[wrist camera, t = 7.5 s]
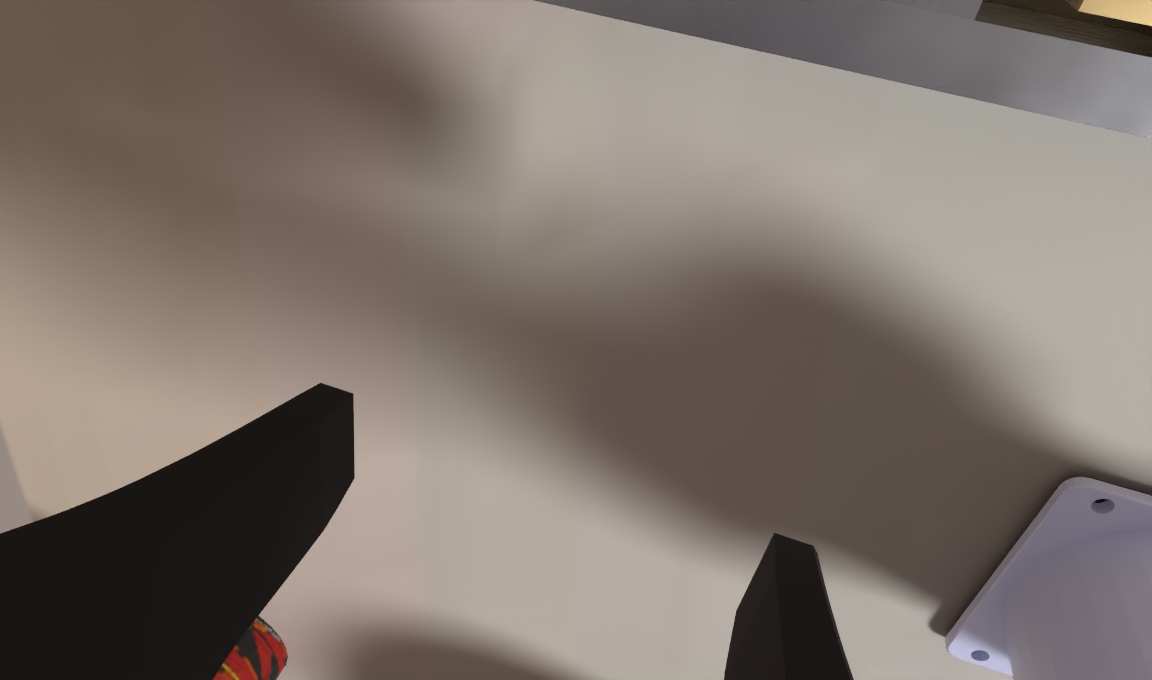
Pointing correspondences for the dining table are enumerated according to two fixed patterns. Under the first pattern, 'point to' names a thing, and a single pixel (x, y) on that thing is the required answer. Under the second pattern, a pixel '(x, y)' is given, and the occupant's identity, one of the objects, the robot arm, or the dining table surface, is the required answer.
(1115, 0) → the gold knobbed block
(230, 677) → the deodorant
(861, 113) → the dining table surface
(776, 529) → the dining table surface
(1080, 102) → the rack rail
